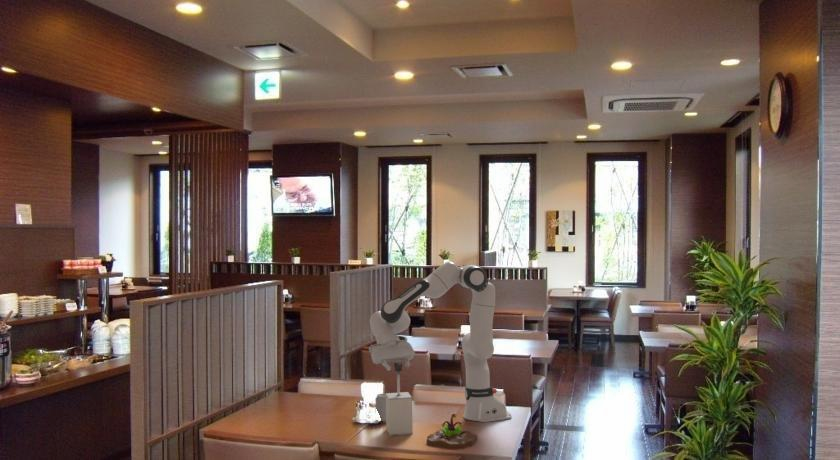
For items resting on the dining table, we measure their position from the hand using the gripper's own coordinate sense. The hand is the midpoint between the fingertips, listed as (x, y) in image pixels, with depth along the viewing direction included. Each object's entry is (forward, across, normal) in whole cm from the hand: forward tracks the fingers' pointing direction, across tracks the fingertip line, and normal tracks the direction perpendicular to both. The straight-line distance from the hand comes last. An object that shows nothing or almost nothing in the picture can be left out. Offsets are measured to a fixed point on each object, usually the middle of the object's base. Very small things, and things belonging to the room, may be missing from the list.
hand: (398, 368), depth 300 cm
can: (+5, +3, +35) cm, 35 cm away
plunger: (+14, 0, +14) cm, 20 cm away
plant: (+37, +12, +4) cm, 39 cm away
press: (+19, 0, +20) cm, 28 cm away
